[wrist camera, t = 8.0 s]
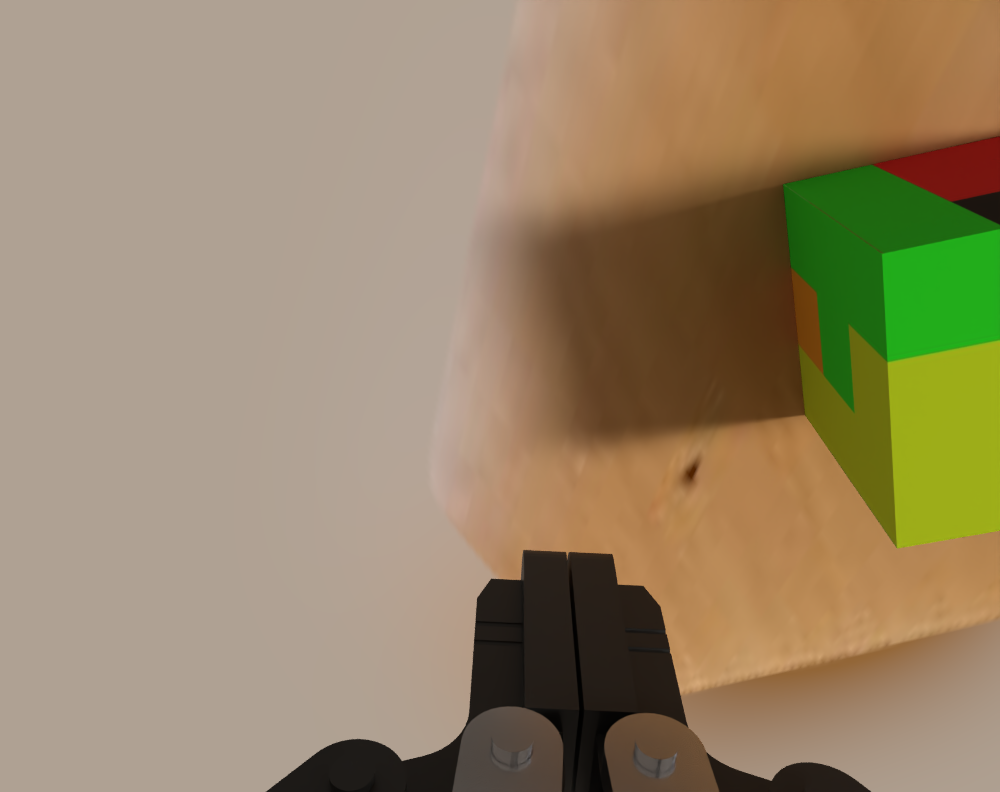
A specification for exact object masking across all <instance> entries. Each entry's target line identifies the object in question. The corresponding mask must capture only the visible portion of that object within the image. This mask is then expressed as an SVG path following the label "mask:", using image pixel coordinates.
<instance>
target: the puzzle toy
mask: <svg viewBox="0 0 1000 792" xmlns="http://www.w3.org/2000/svg"><path fill="white" fill-rule="evenodd" d="M783 189H784V200H785V210H786V221H787V231H788V242H789V252H790V263H791V273H792V284H793V294H794V305H795V315H796V326H797V336H798V347H799V357H800V368H801V378H802V389H803V399H804V410H805V416H806V417H807V419H808V420H809V422H810V423H811V424H812V426H813V427H814V429H815V430H816V432H817V433H818V435H819V436H820V437H821V439H822V440H823V442H824V443H825V445H826V446H827V448H828V449H829V451H830V452H831V453H832V455H833V456H834V458H835V459H836V461H837V462H838V464H839V465H840V466H841V468H842V469H843V471H844V472H845V474H846V475H847V477H848V478H849V480H850V481H851V482H852V484H853V485H854V487H855V488H856V490H857V491H858V493H859V494H860V496H861V497H862V498H863V500H864V501H865V503H866V504H867V506H868V507H869V509H870V510H871V511H872V513H873V514H874V516H875V517H876V519H877V520H878V522H879V523H880V525H881V526H882V527H883V529H884V530H885V532H886V533H887V535H888V536H889V538H890V539H891V540H892V542H893V543H894V545H895V546H896V548H903V547H908V546H914V545H920V544H926V543H931V542H937V541H943V540H949V539H955V538H960V537H966V536H972V535H978V534H983V533H989V532H995V531H1000V136H999V137H995V138H990V139H986V140H981V141H976V142H972V143H967V144H963V145H958V146H954V147H949V148H945V149H940V150H936V151H931V152H927V153H922V154H918V155H913V156H909V157H904V158H899V159H895V160H890V161H886V162H881V163H877V164H872V165H868V166H863V167H859V168H854V169H850V170H845V171H841V172H836V173H832V174H827V175H823V176H818V177H813V178H809V179H804V180H800V181H795V182H791V183H786V184H783Z"/></svg>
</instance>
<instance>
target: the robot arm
mask: <svg viewBox="0 0 1000 792" xmlns="http://www.w3.org/2000/svg"><path fill="white" fill-rule="evenodd" d="M665 631H666V629H665V625H664V621H663V616H662V612H661V607H660V606H659V605H658V603H657V602H656V601H655V600H654V598H653V597H652V596H651V595H650V594H649V592H648V591H647V590H646V589H645V587H644V586H634V585H618V583H617V577H616V571H615V565H614V559H613V555H612V554H598V553H577V552H569V554H568V559H567V555H566V552H552V551H532V550H523V557H522V572H521V580H505V579H491V580H490V581H489V583H488V584H487V585H486V587H485V588H484V589H483V591H482V592H481V594H480V595H479V596H478V598H477V608H476V623H475V637H474V652H473V666H472V680H471V681H472V682H471V695H470V709H469V717H468V721H467V723H466V726H465V727H464V729H463V731H462V732H461V734H460V735H459V736H458V737H457V738H456V739H455V740H454V741H453V742H452V743H450V744H449V745H448V746H446V747H444V748H443V749H442V750H439V751H437V752H434V753H432V754H429V755H425V756H422V757H417V758H413V759H409V760H405V761H401V759H400V758H399V757H398V755H397V754H396V753H395V752H394V751H393V750H391V749H390V748H388V747H386V746H385V745H382V744H380V743H378V742H375V741H370V740H363V739H352V740H345V741H341V742H338V743H334V744H332V745H329V746H327V747H326V748H324V749H322V750H320V751H319V752H317V753H316V754H315V755H313V756H312V757H311V758H310V759H308V760H307V761H306V762H304V763H303V764H302V765H300V766H299V767H298V768H296V769H295V770H294V771H292V772H291V773H290V774H289V775H288V776H286V777H285V778H283V779H282V780H281V781H279V782H278V783H277V784H276V785H274V786H273V787H272V788H270V789H269V790H268V791H267V792H871V791H870V790H868V789H867V788H866V787H864V786H863V785H862V784H860V783H859V782H858V781H856V780H855V779H853V778H852V777H851V776H849V775H847V774H846V773H844V772H842V771H840V770H838V769H835V768H832V767H830V766H826V765H823V764H818V763H796V764H792V765H789V766H786V767H785V768H783V769H781V770H780V771H779V772H778V773H777V774H776V775H775V776H774V778H773V780H772V781H770V780H767V779H764V778H761V777H757V776H754V775H751V774H748V773H745V772H742V771H739V770H736V769H734V768H731V767H729V766H727V765H725V764H723V763H721V762H719V761H718V760H716V759H714V758H713V757H711V756H710V755H709V754H708V753H707V752H706V750H705V748H704V746H703V744H702V742H701V741H700V740H699V738H698V737H697V736H696V734H695V733H694V732H693V731H692V730H690V729H689V728H688V725H687V722H686V718H685V714H684V709H683V705H682V700H681V696H680V691H679V687H678V682H677V678H676V674H675V669H674V665H673V660H672V656H671V654H670V647H669V643H668V638H667V634H666V633H665Z"/></svg>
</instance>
